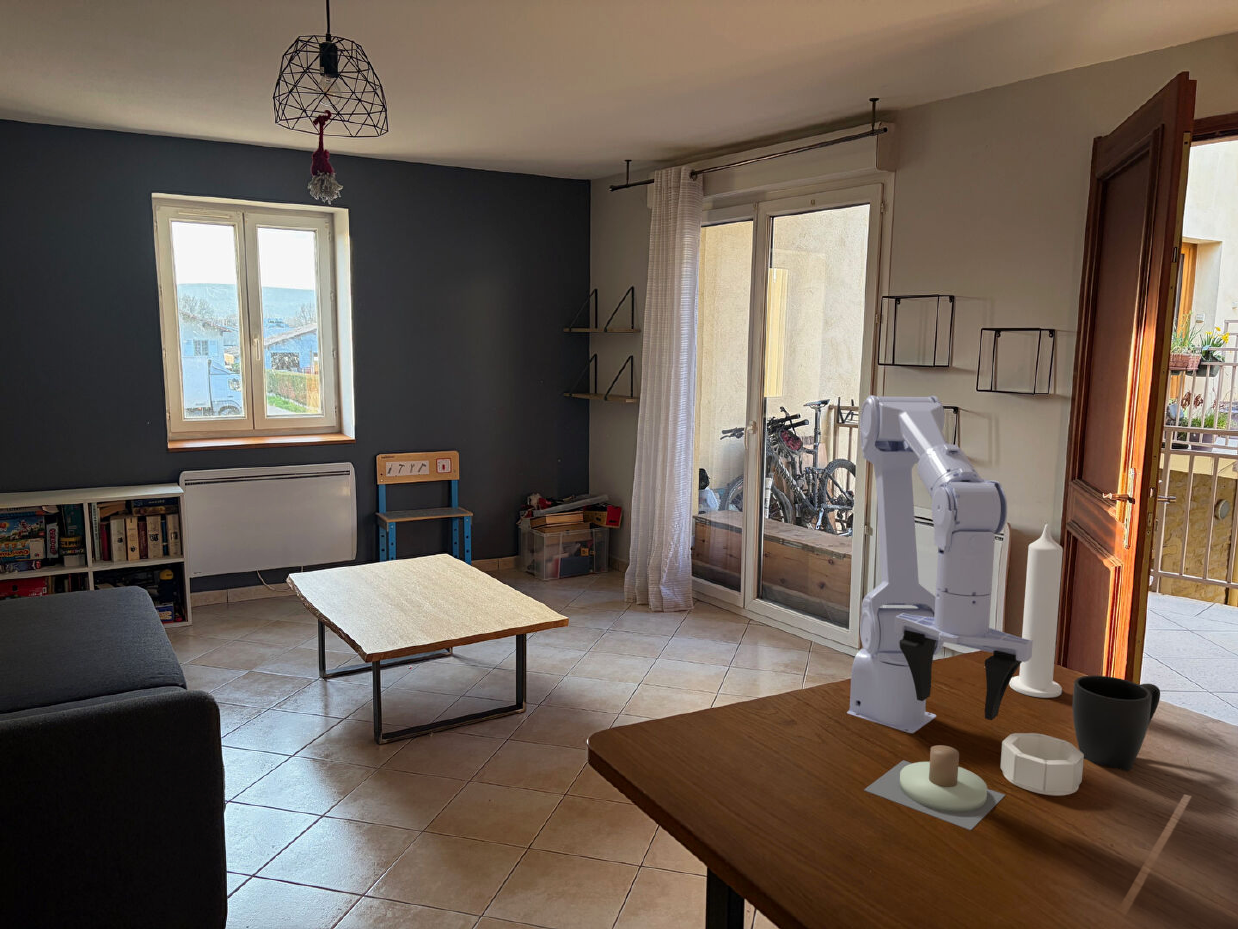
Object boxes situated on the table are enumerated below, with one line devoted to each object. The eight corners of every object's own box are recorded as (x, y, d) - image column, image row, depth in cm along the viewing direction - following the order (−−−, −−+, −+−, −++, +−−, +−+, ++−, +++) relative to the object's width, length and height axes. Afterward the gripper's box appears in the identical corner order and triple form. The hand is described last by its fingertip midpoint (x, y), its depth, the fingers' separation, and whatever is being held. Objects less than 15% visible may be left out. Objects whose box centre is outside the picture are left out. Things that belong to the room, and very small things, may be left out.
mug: (1183, 766, 106) (1190, 691, 105) (1110, 782, 102) (1117, 704, 101) (1123, 738, 114) (1129, 668, 112) (1053, 752, 109) (1058, 679, 108)
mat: (863, 794, 98) (863, 789, 98) (902, 765, 106) (903, 760, 106) (970, 835, 90) (970, 830, 90) (1005, 800, 98) (1005, 795, 97)
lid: (885, 791, 98) (887, 751, 97) (920, 763, 105) (922, 726, 104) (967, 821, 92) (970, 779, 91) (999, 790, 99) (1001, 751, 98)
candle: (1057, 683, 132) (1070, 521, 129) (1065, 701, 126) (1078, 530, 123) (1007, 677, 135) (1018, 518, 131) (1011, 694, 128) (1023, 527, 125)
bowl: (992, 782, 101) (994, 748, 101) (1016, 760, 107) (1018, 727, 107) (1066, 807, 96) (1069, 771, 96) (1087, 782, 102) (1090, 748, 101)
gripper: (885, 584, 98) (879, 700, 100) (1020, 610, 89) (1011, 737, 90) (911, 573, 103) (906, 683, 105) (1041, 596, 94) (1033, 717, 95)
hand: (956, 707), depth 98 cm, fingers open, 7 cm apart
